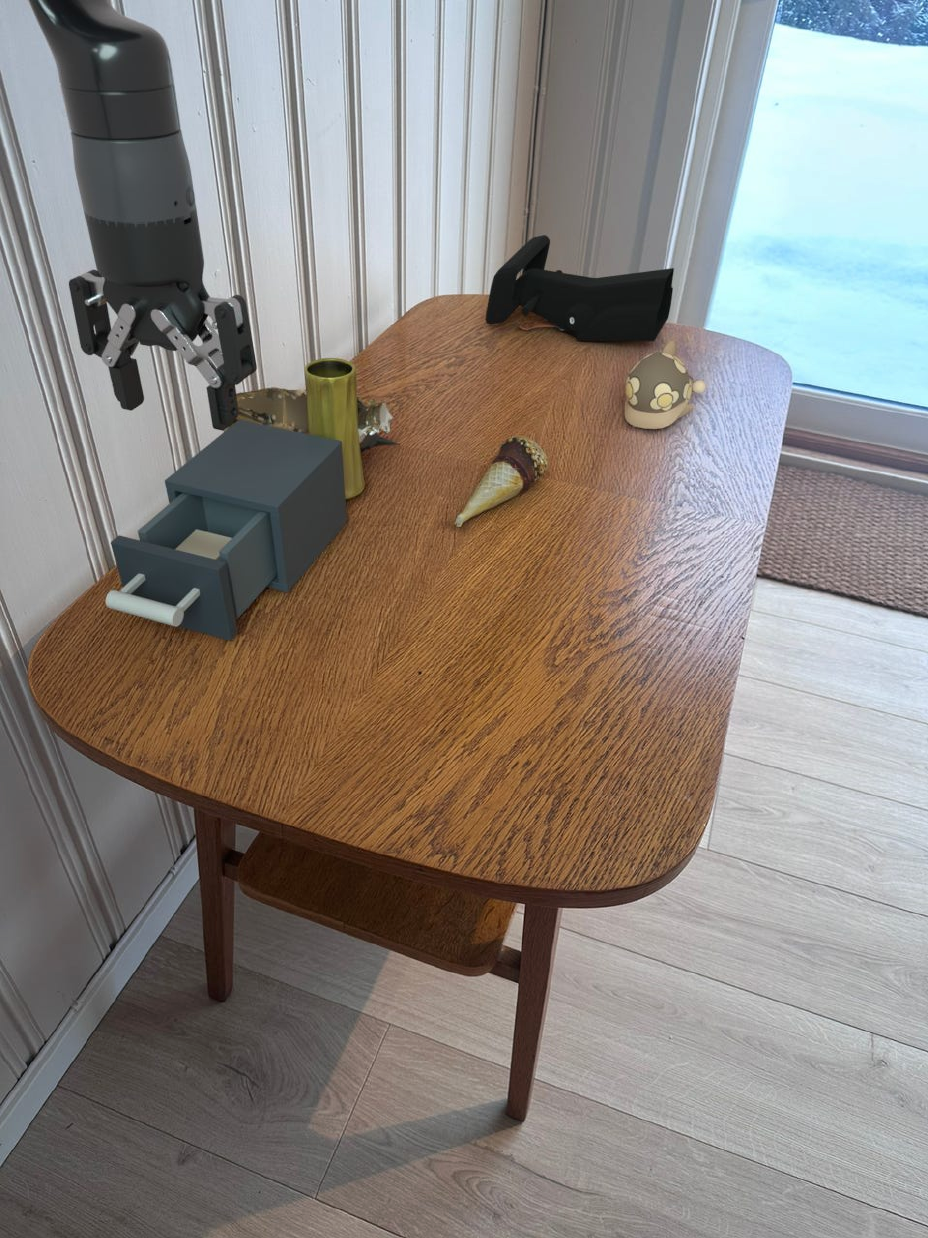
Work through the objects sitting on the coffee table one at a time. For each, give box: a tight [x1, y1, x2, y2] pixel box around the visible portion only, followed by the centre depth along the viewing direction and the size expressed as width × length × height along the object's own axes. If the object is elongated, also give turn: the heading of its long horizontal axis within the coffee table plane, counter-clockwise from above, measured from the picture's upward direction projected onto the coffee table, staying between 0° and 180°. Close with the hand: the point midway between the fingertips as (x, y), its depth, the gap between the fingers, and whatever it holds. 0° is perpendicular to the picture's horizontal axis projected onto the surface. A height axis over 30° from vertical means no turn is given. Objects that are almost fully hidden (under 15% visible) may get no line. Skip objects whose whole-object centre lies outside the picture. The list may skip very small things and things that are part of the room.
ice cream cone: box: [454, 434, 549, 528], centre depth 98 cm, size 6×6×15 cm
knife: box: [518, 320, 565, 332], centre depth 140 cm, size 13×1×3 cm
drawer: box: [105, 493, 277, 642], centre depth 79 cm, size 16×11×8 cm, turn 160°
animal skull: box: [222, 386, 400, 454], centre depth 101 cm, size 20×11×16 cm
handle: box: [485, 234, 675, 342], centre depth 135 cm, size 17×27×15 cm, turn 67°
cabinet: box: [164, 420, 348, 593], centre depth 88 cm, size 13×12×10 cm
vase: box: [304, 357, 366, 501], centre depth 95 cm, size 6×6×14 cm
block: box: [175, 529, 232, 561], centre depth 81 cm, size 4×4×4 cm
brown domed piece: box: [624, 338, 707, 430], centre depth 116 cm, size 10×11×15 cm
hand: (178, 416), depth 72 cm, fingers open, 8 cm apart
